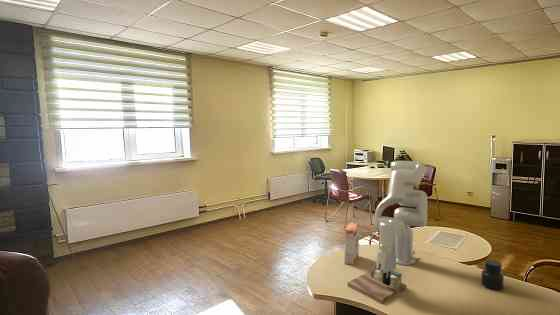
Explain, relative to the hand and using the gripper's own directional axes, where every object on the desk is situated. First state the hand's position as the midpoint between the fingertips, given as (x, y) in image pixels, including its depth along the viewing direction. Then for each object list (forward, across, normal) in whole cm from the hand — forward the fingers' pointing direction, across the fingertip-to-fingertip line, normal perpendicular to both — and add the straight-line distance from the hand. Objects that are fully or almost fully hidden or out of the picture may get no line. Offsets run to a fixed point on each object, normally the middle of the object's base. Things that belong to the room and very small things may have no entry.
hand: (386, 284), depth 150 cm
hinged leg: (+1, -4, -4) cm, 5 cm away
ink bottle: (+3, -44, +29) cm, 53 cm away
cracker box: (+3, -13, -33) cm, 36 cm away
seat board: (+3, +1, -5) cm, 6 cm away
